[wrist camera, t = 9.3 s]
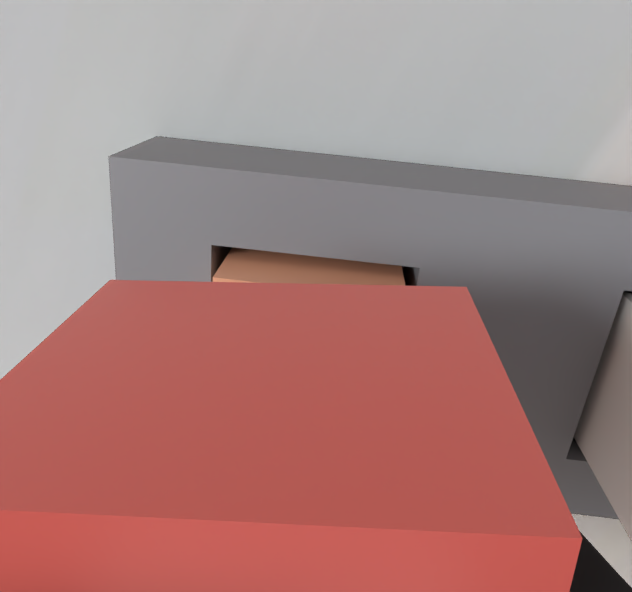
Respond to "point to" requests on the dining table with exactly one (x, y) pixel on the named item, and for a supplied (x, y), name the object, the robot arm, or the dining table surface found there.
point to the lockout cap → (274, 447)
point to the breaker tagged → (303, 269)
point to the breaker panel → (407, 252)
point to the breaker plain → (612, 417)
